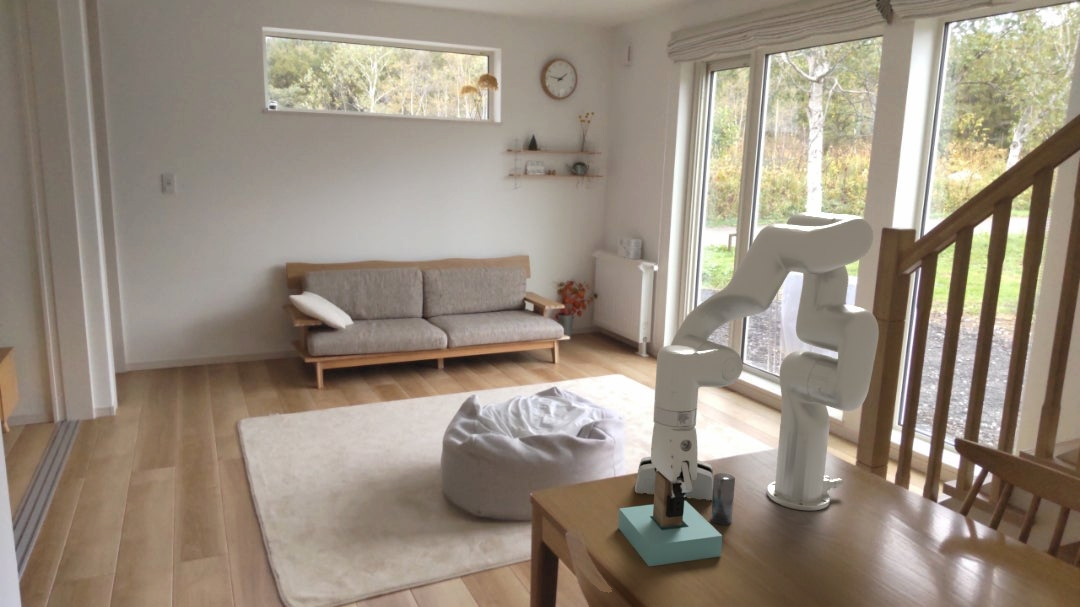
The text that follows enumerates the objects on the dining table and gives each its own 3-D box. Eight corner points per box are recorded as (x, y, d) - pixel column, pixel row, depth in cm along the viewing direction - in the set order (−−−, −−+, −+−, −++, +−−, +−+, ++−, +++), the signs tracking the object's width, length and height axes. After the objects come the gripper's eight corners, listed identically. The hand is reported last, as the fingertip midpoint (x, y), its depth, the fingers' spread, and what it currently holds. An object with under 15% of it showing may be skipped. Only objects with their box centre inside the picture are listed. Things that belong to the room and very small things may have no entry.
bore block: (684, 519, 142) (685, 500, 142) (720, 556, 129) (722, 535, 128) (618, 527, 139) (619, 508, 138) (648, 566, 125) (649, 545, 125)
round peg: (725, 514, 145) (728, 472, 143) (735, 523, 141) (739, 480, 139) (707, 516, 144) (710, 474, 142) (717, 526, 140) (720, 482, 138)
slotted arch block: (713, 490, 156) (717, 455, 151) (714, 506, 152) (717, 471, 147) (635, 482, 159) (636, 447, 154) (634, 498, 155) (635, 463, 150)
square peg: (672, 514, 135) (675, 469, 134) (682, 524, 132) (685, 478, 130) (652, 516, 134) (655, 471, 133) (662, 527, 130) (665, 480, 129)
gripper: (717, 429, 122) (709, 529, 126) (673, 399, 138) (667, 488, 142) (677, 433, 120) (670, 534, 124) (636, 401, 136) (631, 492, 139)
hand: (668, 509), depth 133 cm, fingers closed on square peg, 4 cm apart
